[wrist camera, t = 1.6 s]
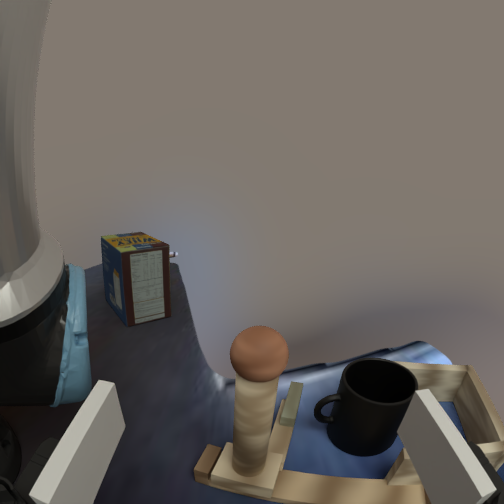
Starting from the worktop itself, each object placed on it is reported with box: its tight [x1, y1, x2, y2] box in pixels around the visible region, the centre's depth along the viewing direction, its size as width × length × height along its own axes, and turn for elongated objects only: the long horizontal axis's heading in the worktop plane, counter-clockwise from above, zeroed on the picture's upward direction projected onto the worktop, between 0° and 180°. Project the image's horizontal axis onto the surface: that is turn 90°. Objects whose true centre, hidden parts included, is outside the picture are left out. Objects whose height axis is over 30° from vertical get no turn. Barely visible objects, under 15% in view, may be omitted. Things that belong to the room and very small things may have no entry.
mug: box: [314, 358, 418, 456], centre depth 32 cm, size 9×12×9 cm
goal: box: [384, 361, 504, 485], centre depth 29 cm, size 15×19×6 cm
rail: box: [194, 444, 431, 504], centre depth 23 cm, size 26×4×2 cm, turn 75°
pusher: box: [211, 326, 303, 498], centre depth 29 cm, size 6×16×19 cm, turn 165°
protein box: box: [101, 232, 171, 327], centre depth 63 cm, size 10×15×16 cm
